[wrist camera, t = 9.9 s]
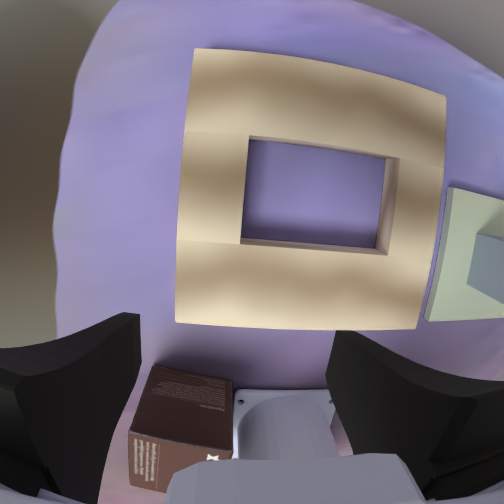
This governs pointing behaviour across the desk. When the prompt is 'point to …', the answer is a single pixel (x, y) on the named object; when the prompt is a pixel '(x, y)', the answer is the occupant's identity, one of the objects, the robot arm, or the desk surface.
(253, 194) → the desk surface
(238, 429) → the robot arm
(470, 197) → the tile
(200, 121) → the pocket board
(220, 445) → the box
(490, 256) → the slate block
